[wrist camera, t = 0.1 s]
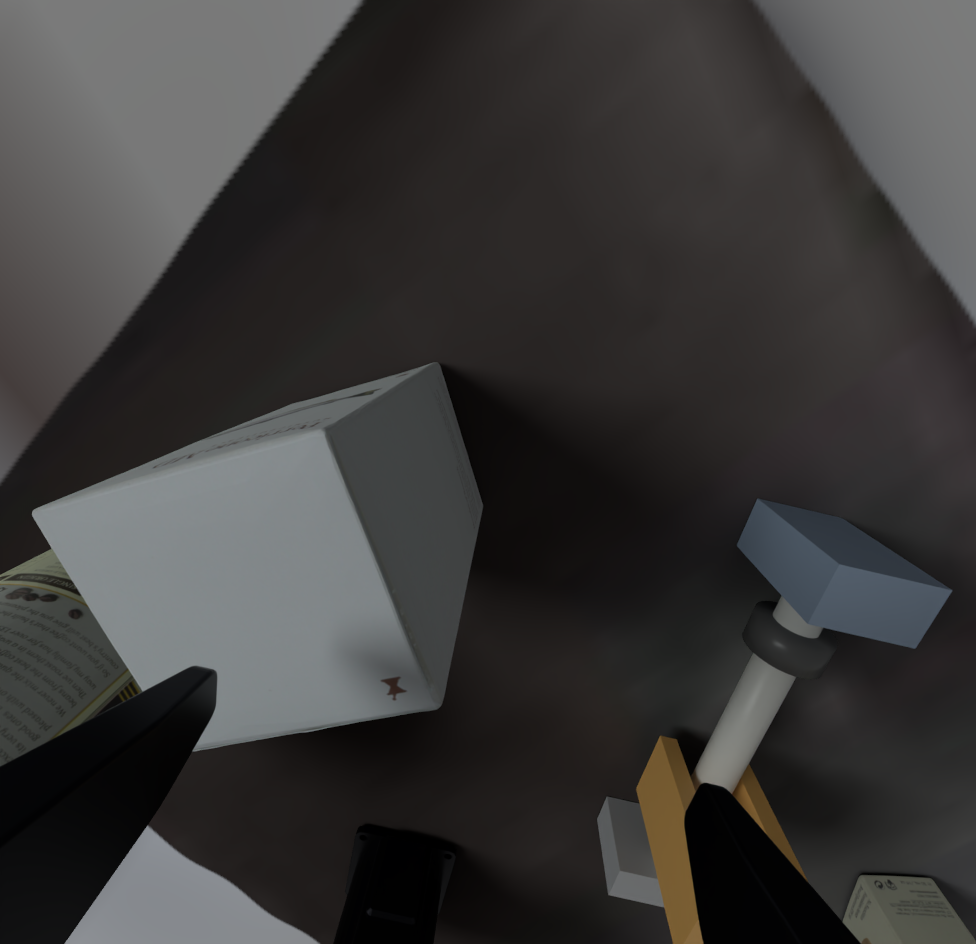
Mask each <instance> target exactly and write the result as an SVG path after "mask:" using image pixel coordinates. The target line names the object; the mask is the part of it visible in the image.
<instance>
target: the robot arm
mask: <svg viewBox="0 0 976 944" xmlns="http://www.w3.org/2000/svg"><path fill="white" fill-rule="evenodd" d="M217 678H218V677H217V672H216V671H215V670H214V669H210V668H206V667H201V666H191V667H188V668H186V669H184V670H183V671H181V672H179V673H177V674H175V675H173V676H171V677H169V678H167V679H165V680H164V681H162V682H160V683H158V684H156V685H154V686H152V687H150V688H148V689H146V690H145V691H143V692H141V693H139V694H137V695H135V696H133V697H131V698H129V699H127V700H125V701H124V702H122V703H120V704H118V705H116V706H114V707H112V708H110V709H108V710H106V711H105V712H103V713H101V714H99V715H97V716H95V717H93V718H91V719H89V720H87V721H86V722H84V723H82V724H80V725H78V726H76V727H74V728H72V729H70V730H68V731H66V732H65V733H63V734H61V735H59V736H57V737H55V738H53V739H51V740H49V741H47V742H46V743H44V744H42V745H40V746H38V747H36V748H34V749H32V750H30V751H28V752H26V753H25V754H23V755H21V756H19V757H17V758H15V759H13V760H11V761H9V762H7V763H6V764H4V765H2V766H0V944H64V943H65V942H66V940H67V939H68V938H69V936H70V935H71V933H72V932H73V931H74V929H75V928H76V926H77V925H78V923H79V922H80V920H81V919H82V918H83V916H84V915H85V913H86V912H87V911H88V909H89V908H90V906H91V905H92V903H93V902H94V901H95V899H96V898H97V896H98V895H99V894H100V892H101V891H102V889H103V888H104V886H105V885H106V883H107V882H108V881H109V879H110V878H111V876H112V875H113V874H114V872H115V871H116V869H117V868H118V866H119V865H120V864H121V862H122V861H123V859H124V858H125V856H126V855H127V854H128V852H129V851H130V849H131V848H132V846H133V845H134V844H135V842H136V841H137V839H138V838H139V837H140V835H141V834H142V832H143V831H144V829H145V828H146V827H147V825H148V824H149V822H150V821H151V819H152V818H153V816H154V815H155V813H156V812H157V810H158V809H159V807H160V806H161V804H162V802H163V801H164V799H165V797H166V796H167V794H168V792H169V791H170V789H171V787H172V786H173V784H174V782H175V780H176V779H177V777H178V775H179V773H180V772H181V770H182V768H183V767H184V765H185V763H186V761H187V760H188V758H189V756H190V754H191V753H192V751H193V749H194V747H195V746H196V744H197V742H198V741H199V739H200V737H201V735H202V734H203V732H204V730H205V728H206V727H207V725H208V723H209V721H210V720H211V718H212V716H213V714H214V711H215V707H216V700H217ZM684 829H685V835H686V842H687V848H688V855H689V861H690V868H691V875H692V881H693V888H694V894H695V901H696V907H697V914H698V919H699V925H700V931H701V935H702V940H703V944H861V943H860V942H859V941H858V939H857V938H856V937H855V936H854V935H853V934H852V932H851V931H850V930H849V929H848V928H847V927H846V926H845V924H844V923H843V922H842V921H841V920H840V919H839V917H838V916H837V915H836V914H835V913H834V912H833V910H832V909H831V908H830V907H829V906H828V905H827V904H826V902H825V901H824V900H823V899H822V898H821V897H820V895H819V894H818V893H817V892H816V891H815V890H814V889H813V887H812V886H811V885H810V884H809V883H808V882H807V880H806V879H805V878H804V877H803V876H802V875H801V874H800V872H799V871H798V870H797V869H796V868H795V867H794V865H793V864H792V863H791V862H790V861H789V860H788V858H787V857H786V856H785V855H784V854H783V853H782V852H781V850H780V849H779V848H778V847H777V846H776V845H775V843H774V842H773V841H772V840H771V839H770V838H769V837H768V835H767V834H766V833H765V832H764V831H763V830H762V828H761V827H760V826H759V825H758V824H757V823H756V822H755V820H754V819H753V818H752V817H751V816H750V815H749V813H748V812H747V811H746V810H745V809H744V808H743V807H742V805H741V804H740V803H739V802H738V801H737V800H736V798H735V797H734V796H733V795H732V794H731V793H730V792H729V791H728V790H727V789H726V788H724V787H722V786H718V785H714V784H710V783H702V784H701V785H699V787H698V789H697V791H696V793H695V794H694V796H693V798H692V800H691V802H690V804H689V806H688V808H687V810H686V812H685V816H684ZM455 859H456V848H455V847H454V846H452V845H449V844H445V843H440V842H436V841H431V840H427V839H422V838H418V837H413V836H409V835H404V834H400V833H395V832H391V831H386V830H382V829H378V828H373V827H369V826H360V827H359V828H358V830H357V833H356V836H355V841H354V847H353V852H352V857H351V863H350V868H349V874H348V879H347V884H346V890H345V893H346V894H347V898H346V902H345V905H344V909H343V912H342V915H341V919H340V922H339V926H338V929H337V932H336V936H335V939H334V942H333V944H433V943H434V936H435V929H436V922H437V914H439V912H440V910H441V906H442V903H443V900H444V896H445V893H446V889H447V886H448V883H449V879H450V876H451V872H452V869H453V866H454V862H455Z"/></svg>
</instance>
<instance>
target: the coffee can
mask: <svg viewBox="0 0 976 944" xmlns="http://www.w3.org/2000/svg"><path fill="white" fill-rule="evenodd" d="M141 692H143V691H142V690H141V688H140V686H139V685H138V683H137V682H136V680H135V679H134V677H133V676H132V674H131V672H130V671H129V669H128V668H127V666H126V665H125V663H124V662H123V660H122V659H121V657H120V656H119V654H118V653H117V651H116V649H115V648H114V646H113V645H112V643H111V642H110V640H109V639H108V637H107V635H106V634H105V632H104V631H103V629H102V628H101V626H100V624H99V623H98V621H97V620H96V618H95V616H94V615H93V613H92V612H91V610H90V608H89V607H88V605H87V603H86V602H85V600H84V598H83V597H82V595H81V594H80V592H79V591H78V589H77V587H76V586H75V584H74V583H73V581H72V580H71V578H70V577H69V575H68V573H67V572H66V570H65V569H64V567H63V565H62V564H61V562H60V560H59V559H58V557H57V556H56V554H55V552H54V551H53V549H51V550H49V551H47V552H45V553H43V554H41V555H39V556H37V557H35V558H33V559H31V560H29V561H27V562H25V563H23V564H21V565H19V566H17V567H15V568H13V569H11V570H9V571H7V572H5V573H3V574H1V575H0V766H2V765H4V764H6V763H7V762H9V761H11V760H13V759H15V758H17V757H19V756H21V755H23V754H25V753H26V752H28V751H30V750H32V749H34V748H36V747H38V746H40V745H42V744H44V743H46V742H47V741H49V740H51V739H53V738H55V737H57V736H59V735H61V734H63V733H65V732H66V731H68V730H70V729H72V728H74V727H76V726H78V725H80V724H82V723H84V722H86V721H87V720H89V719H91V718H93V717H95V716H97V715H99V714H101V713H103V712H105V711H106V710H108V709H110V708H112V707H114V706H116V705H118V704H120V703H122V702H124V701H125V700H127V699H129V698H131V697H133V696H135V695H137V694H139V693H141Z"/></svg>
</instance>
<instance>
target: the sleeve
mask: <svg viewBox="0 0 976 944" xmlns="http://www.w3.org/2000/svg"><path fill="white" fill-rule="evenodd" d="M636 790H637V794H638V798H639V802H640V807H641V811H642V815H643V819H644V823H645V828H646V832H647V836H648V840H649V844H650V848H651V853H652V857H653V861H654V865H655V869H656V874H657V878H658V882H659V886H660V890H661V894H662V899H663V903H664V907H665V911H666V915H667V920H668V924H669V928H670V932H671V936H672V940H673V944H703V940H702V935H701V931H700V925H699V919H698V914H697V907H696V901H695V894H694V888H693V881H692V875H691V868H690V861H689V855H688V848H687V842H686V835H685V829H684V816H685V812H686V810H687V808H688V806H689V804H690V802H691V800H692V798H693V796H694V794H695V793H696V791H695V789H694V786H693V783H692V780H691V778H690V775H689V772H688V769H687V767H686V764H685V761H684V758H683V755H682V753H681V750H680V747H679V744H678V742H677V739H673V738H668V737H664V736H660V737H659V739H658V742H657V744H656V746H655V748H654V750H653V753H652V755H651V757H650V759H649V761H648V764H647V766H646V768H645V770H644V773H643V775H642V777H641V779H640V781H639V784H638V786H637V788H636ZM732 795H733V796H734V797H735V798H736V800H737V801H738V802H739V803H740V804H741V805H742V807H743V808H744V809H745V810H746V811H747V812H748V813H749V815H750V816H751V817H752V818H753V819H754V820H755V822H756V823H757V824H758V825H759V826H760V827H761V828H762V830H763V831H764V832H765V833H766V834H767V835H768V837H769V838H770V839H771V840H772V841H773V842H774V843H775V845H776V846H777V847H778V848H779V849H780V850H781V852H782V853H783V854H784V855H785V856H786V857H787V858H788V860H789V861H790V862H791V863H792V864H793V865H794V867H795V868H796V869H797V870H798V871H799V872H800V874H801V875H802V876H803V877H804V878H805V879H806V877H805V875H804V873H803V871H802V869H801V867H800V865H799V863H798V861H797V859H796V857H795V855H794V853H793V851H792V849H791V847H790V845H789V843H788V841H787V839H786V837H785V835H784V833H783V831H782V829H781V827H780V825H779V823H778V821H777V819H776V817H775V815H774V813H773V811H772V809H771V807H770V805H769V803H768V801H767V799H766V797H765V795H764V793H763V791H762V789H761V787H760V785H759V783H758V781H757V779H756V777H755V775H754V773H753V771H752V769H751V767H750V765H749V764H748V766H747V768H746V770H745V771H744V773H743V775H742V777H741V779H740V780H739V782H738V784H737V786H736V788H735V790H734V791H733V793H732ZM806 880H807V879H806ZM807 882H808V881H807Z"/></svg>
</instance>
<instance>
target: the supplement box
mask: <svg viewBox="0 0 976 944" xmlns="http://www.w3.org/2000/svg"><path fill="white" fill-rule="evenodd" d="M482 510H483V504H482V500H481V497H480V494H479V491H478V487H477V484H476V481H475V477H474V474H473V471H472V468H471V465H470V461H469V458H468V454H467V451H466V448H465V445H464V442H463V439H462V435H461V432H460V429H459V425H458V422H457V419H456V415H455V412H454V409H453V406H452V402H451V399H450V396H449V392H448V389H447V386H446V383H445V379H444V376H443V373H442V370H441V367H440V365H439V363H437V362H434V363H431V364H428V365H425V366H422V367H419V368H416V369H413V370H409V371H406V372H403V373H400V374H396V375H393V376H389V377H386V378H382V379H379V380H375V381H372V382H368V383H365V384H361V385H358V386H354V387H351V388H347V389H344V390H340V391H337V392H334V393H330V394H327V395H324V396H320V397H317V398H313V399H310V400H306V401H302V402H297V403H293V404H291V405H288V406H286V407H284V408H281V409H279V410H276V411H274V412H271V413H269V414H266V415H263V416H261V417H258V418H256V419H253V420H251V421H248V422H246V423H243V424H241V425H238V426H236V427H233V428H231V429H228V430H226V431H223V432H221V433H218V434H216V435H213V436H211V437H208V438H206V439H203V440H201V441H198V442H196V443H193V444H191V445H189V446H186V447H184V448H182V449H179V450H177V451H175V452H172V453H170V454H168V455H165V456H163V457H160V458H158V459H156V460H153V461H151V462H149V463H146V464H144V465H142V466H139V467H137V468H134V469H132V470H129V471H127V472H125V473H122V474H120V475H117V476H115V477H112V478H110V479H107V480H105V481H103V482H100V483H98V484H95V485H93V486H90V487H88V488H85V489H83V490H81V491H78V492H76V493H73V494H71V495H68V496H66V497H63V498H61V499H58V500H56V501H54V502H51V503H49V504H46V505H44V506H41V507H39V508H36V509H35V510H33V512H32V516H33V518H34V519H35V521H36V523H37V524H38V526H39V528H40V529H41V531H42V533H43V534H44V536H45V538H46V539H47V541H48V543H49V544H50V546H51V548H52V549H53V551H54V552H55V554H56V556H57V557H58V559H59V560H60V562H61V564H62V565H63V567H64V569H65V570H66V572H67V573H68V575H69V577H70V578H71V580H72V581H73V583H74V584H75V586H76V587H77V589H78V591H79V592H80V594H81V595H82V597H83V598H84V600H85V602H86V603H87V605H88V607H89V608H90V610H91V612H92V613H93V615H94V616H95V618H96V620H97V621H98V623H99V624H100V626H101V628H102V629H103V631H104V632H105V634H106V635H107V637H108V639H109V640H110V642H111V643H112V645H113V646H114V648H115V649H116V651H117V653H118V654H119V656H120V657H121V659H122V660H123V662H124V663H125V665H126V666H127V668H128V669H129V671H130V672H131V674H132V676H133V677H134V679H135V680H136V682H137V683H138V685H139V686H140V688H141V690H142V691H145V690H146V689H148V688H150V687H152V686H154V685H156V684H158V683H160V682H162V681H164V680H165V679H167V678H169V677H171V676H173V675H175V674H177V673H179V672H181V671H183V670H184V669H186V668H188V667H191V666H201V667H206V668H210V669H214V670H215V671H216V672H217V677H218V678H217V700H216V707H215V711H214V714H213V716H212V718H211V720H210V721H209V723H208V725H207V727H206V728H205V730H204V732H203V734H202V735H201V737H200V739H199V741H198V742H197V744H196V746H195V747H194V749H193V751H198V750H204V749H210V748H216V747H221V746H225V745H230V744H236V743H243V742H249V741H254V740H260V739H266V738H271V737H277V736H282V735H288V734H294V733H301V732H310V731H315V730H321V729H325V728H329V727H334V726H340V725H346V724H351V723H357V722H362V721H368V720H374V719H380V718H386V717H392V716H399V715H404V714H409V713H415V712H422V711H431V710H436V709H438V708H439V707H441V705H442V702H443V699H444V695H445V690H446V684H447V679H448V674H449V669H450V664H451V659H452V654H453V649H454V645H455V640H456V635H457V631H458V626H459V621H460V616H461V611H462V606H463V601H464V596H465V591H466V587H467V582H468V577H469V572H470V567H471V563H472V558H473V553H474V548H475V543H476V539H477V534H478V529H479V524H480V519H481V515H482Z"/></svg>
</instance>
